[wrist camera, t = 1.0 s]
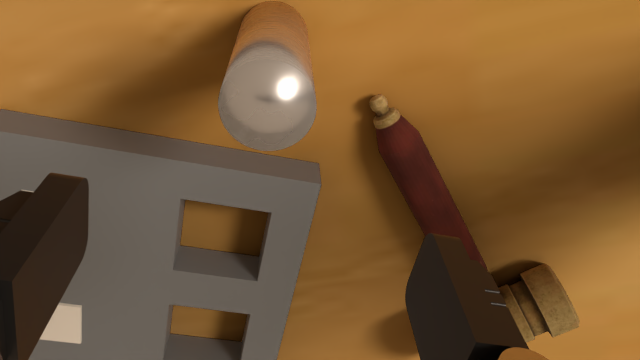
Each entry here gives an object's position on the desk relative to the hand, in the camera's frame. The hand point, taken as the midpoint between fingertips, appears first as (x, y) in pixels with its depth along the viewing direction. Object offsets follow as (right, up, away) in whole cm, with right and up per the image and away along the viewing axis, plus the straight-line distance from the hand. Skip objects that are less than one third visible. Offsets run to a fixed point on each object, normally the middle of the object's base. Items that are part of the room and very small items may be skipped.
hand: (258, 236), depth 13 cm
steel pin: (-1, +9, +16) cm, 18 cm away
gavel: (+9, -1, +23) cm, 25 cm away
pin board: (-10, -7, +24) cm, 27 cm away
